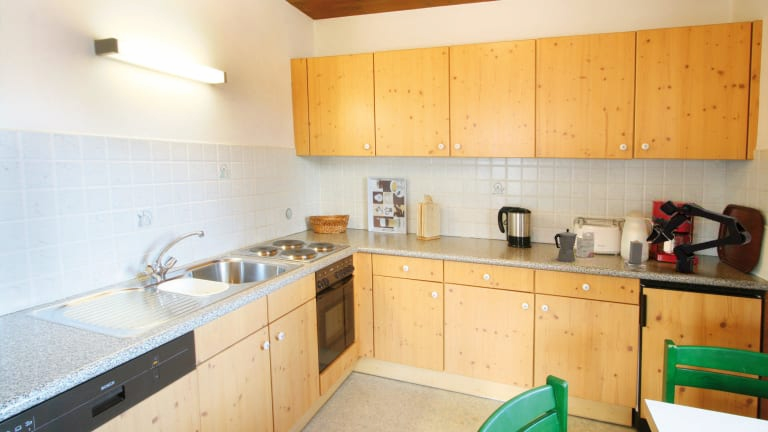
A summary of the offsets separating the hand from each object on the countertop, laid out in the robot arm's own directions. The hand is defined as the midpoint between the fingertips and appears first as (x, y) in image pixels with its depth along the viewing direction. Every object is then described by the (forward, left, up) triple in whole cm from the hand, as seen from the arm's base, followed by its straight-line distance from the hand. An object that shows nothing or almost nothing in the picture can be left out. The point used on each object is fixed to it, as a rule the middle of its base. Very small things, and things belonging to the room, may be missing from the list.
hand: (648, 242), depth 233 cm
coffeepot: (+38, -15, -14) cm, 43 cm away
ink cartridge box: (+23, -26, -14) cm, 37 cm away
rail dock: (+8, +3, -14) cm, 16 cm away
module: (+8, +3, -12) cm, 15 cm away
